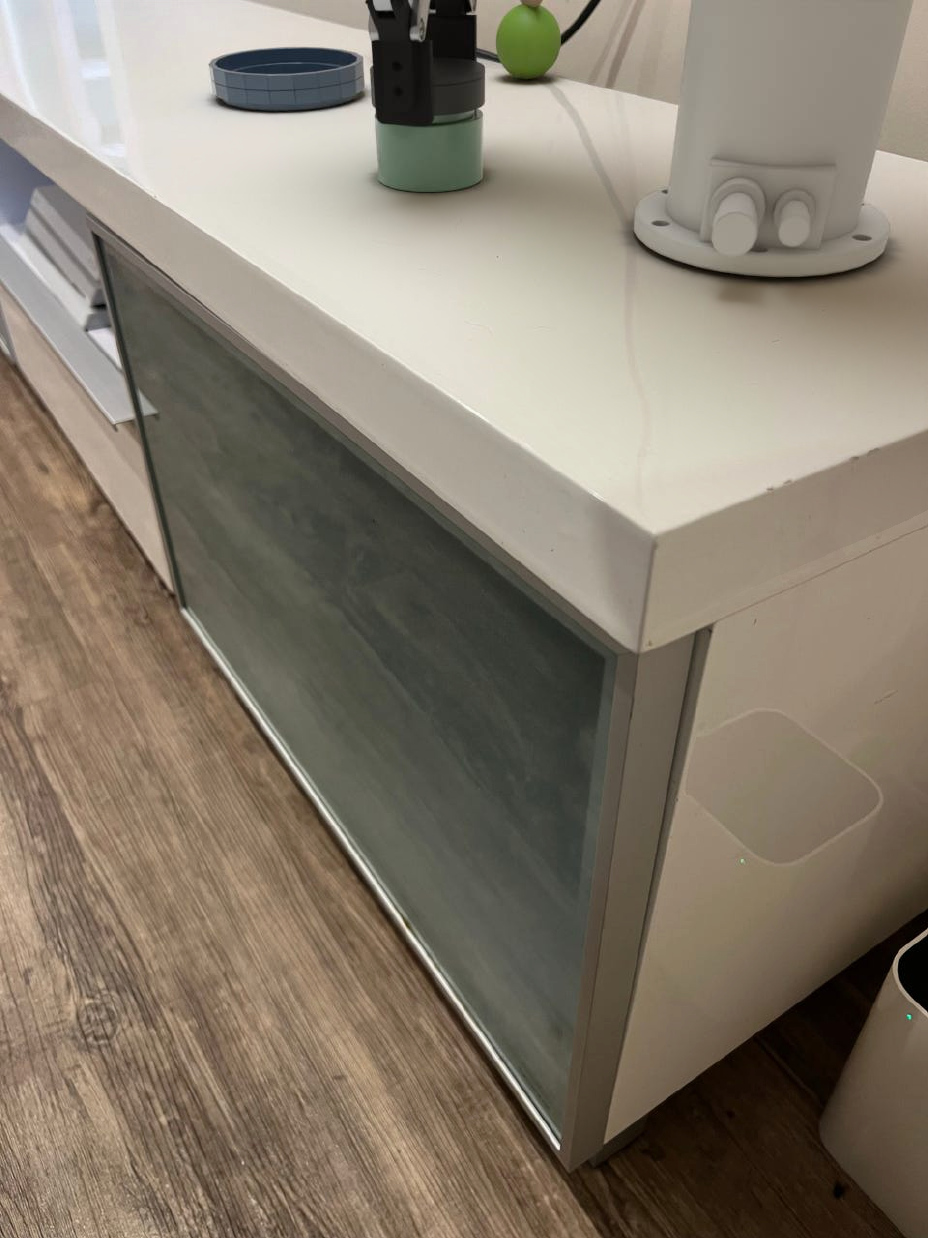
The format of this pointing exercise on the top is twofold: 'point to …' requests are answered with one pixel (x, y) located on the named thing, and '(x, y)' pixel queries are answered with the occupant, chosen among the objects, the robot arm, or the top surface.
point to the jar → (431, 153)
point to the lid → (454, 85)
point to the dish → (287, 78)
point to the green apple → (528, 40)
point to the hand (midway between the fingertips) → (429, 104)
